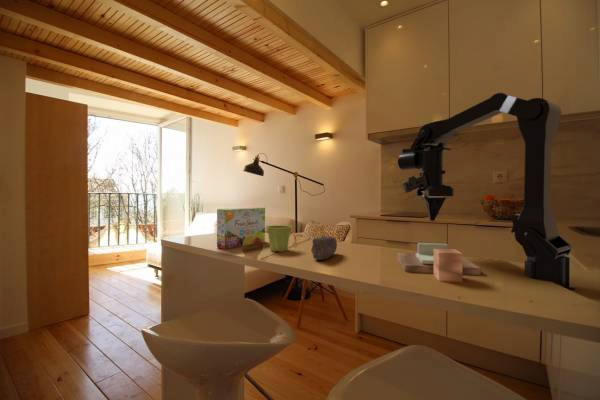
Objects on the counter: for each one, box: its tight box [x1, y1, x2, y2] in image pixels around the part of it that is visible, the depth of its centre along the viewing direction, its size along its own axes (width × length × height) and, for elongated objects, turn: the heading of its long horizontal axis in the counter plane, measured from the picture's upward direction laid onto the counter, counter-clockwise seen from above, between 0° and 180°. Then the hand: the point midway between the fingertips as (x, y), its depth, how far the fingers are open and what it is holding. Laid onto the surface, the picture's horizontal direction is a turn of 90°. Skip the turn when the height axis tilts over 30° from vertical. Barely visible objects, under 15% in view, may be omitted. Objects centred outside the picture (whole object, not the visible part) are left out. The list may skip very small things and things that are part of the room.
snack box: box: [216, 206, 266, 250], centre depth 115 cm, size 21×6×15 cm, turn 143°
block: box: [433, 248, 463, 283], centre depth 61 cm, size 4×4×7 cm
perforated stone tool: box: [310, 235, 338, 261], centre depth 90 cm, size 15×5×7 cm, turn 149°
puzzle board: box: [396, 252, 481, 276], centre depth 72 cm, size 16×14×3 cm
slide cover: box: [415, 242, 449, 264], centre depth 70 cm, size 8×8×4 cm
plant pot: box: [265, 224, 293, 252], centre depth 102 cm, size 9×9×9 cm
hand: (432, 220), depth 84 cm, fingers closed
